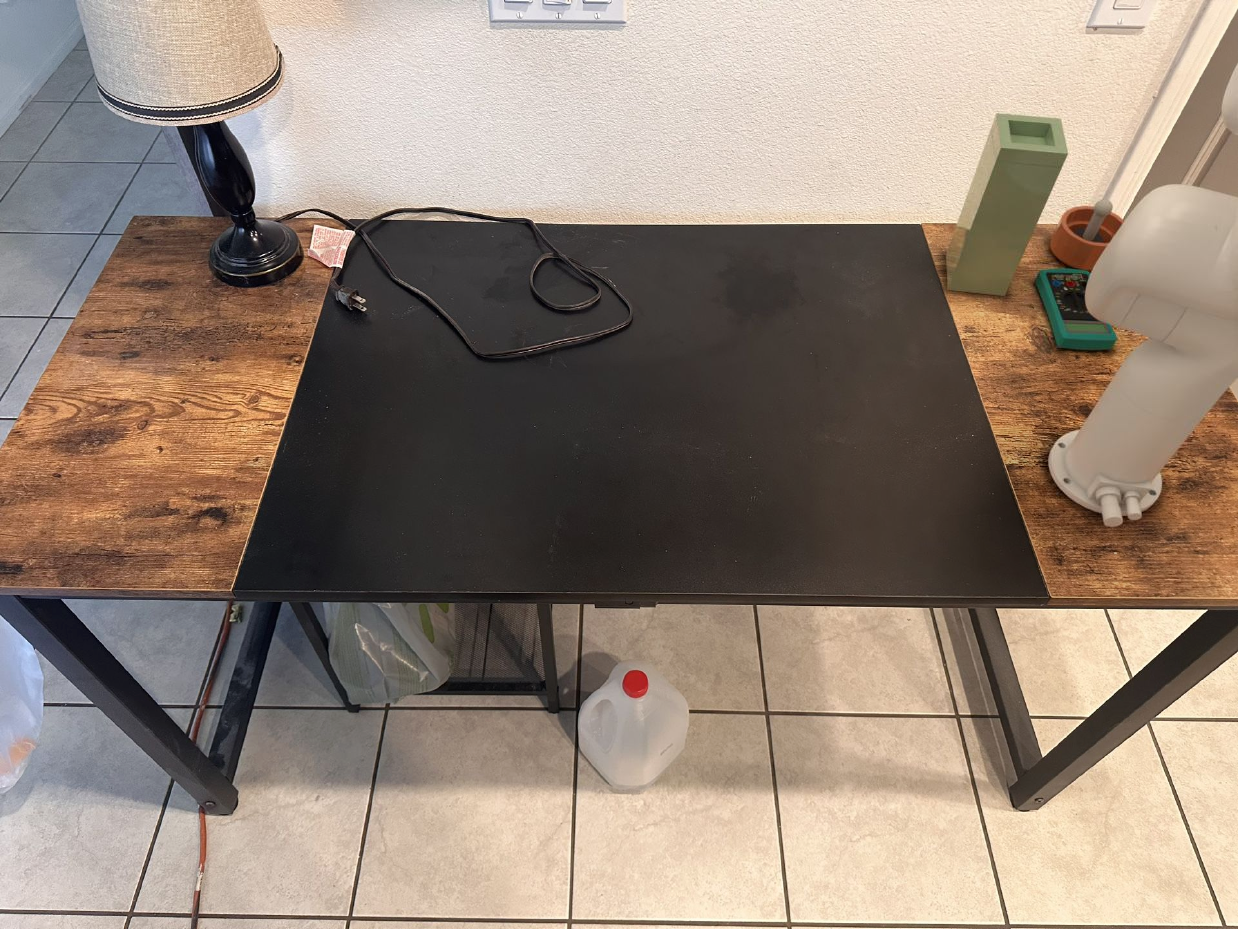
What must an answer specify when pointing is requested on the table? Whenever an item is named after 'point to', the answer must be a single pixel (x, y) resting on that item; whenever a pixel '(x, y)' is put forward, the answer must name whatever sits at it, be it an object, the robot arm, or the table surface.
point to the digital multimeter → (1072, 310)
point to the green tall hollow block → (1005, 202)
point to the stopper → (1096, 222)
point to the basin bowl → (1076, 248)
